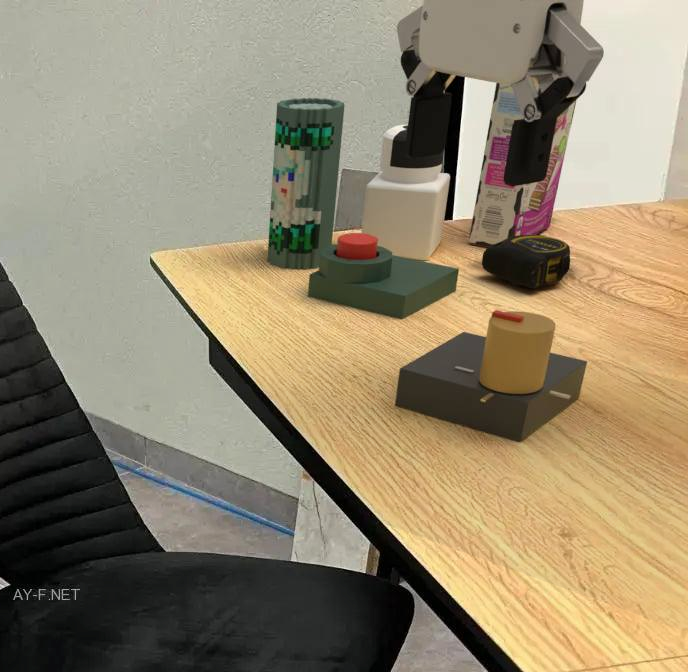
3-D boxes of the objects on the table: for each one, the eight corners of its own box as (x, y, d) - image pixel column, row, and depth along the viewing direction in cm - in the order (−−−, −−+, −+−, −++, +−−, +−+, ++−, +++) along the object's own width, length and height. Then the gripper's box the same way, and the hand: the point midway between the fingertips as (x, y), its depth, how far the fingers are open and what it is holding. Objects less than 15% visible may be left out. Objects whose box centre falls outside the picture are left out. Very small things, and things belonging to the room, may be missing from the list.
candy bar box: (512, 253, 117) (544, 80, 108) (466, 245, 120) (493, 76, 111) (553, 228, 124) (586, 64, 115) (508, 221, 127) (537, 60, 118)
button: (383, 256, 106) (385, 237, 105) (362, 265, 103) (364, 246, 102) (349, 249, 108) (351, 230, 107) (328, 258, 106) (330, 239, 105)
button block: (455, 291, 108) (462, 249, 106) (400, 320, 102) (406, 276, 99) (361, 271, 114) (365, 230, 111) (303, 297, 107) (307, 254, 105)
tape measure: (474, 278, 111) (481, 239, 109) (527, 267, 113) (534, 229, 111) (527, 298, 106) (534, 258, 104) (581, 285, 108) (589, 246, 106)
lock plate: (602, 404, 86) (612, 364, 84) (533, 458, 78) (542, 415, 77) (457, 367, 92) (463, 329, 91) (382, 413, 85) (387, 373, 83)
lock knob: (553, 380, 82) (567, 315, 79) (526, 399, 79) (539, 333, 77) (495, 366, 84) (507, 302, 82) (467, 384, 82) (478, 319, 79)
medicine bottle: (441, 243, 121) (458, 122, 114) (428, 262, 116) (445, 136, 109) (374, 236, 124) (387, 118, 117) (358, 254, 118) (371, 132, 112)
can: (256, 260, 117) (265, 103, 109) (297, 248, 120) (309, 95, 112) (299, 273, 113) (312, 112, 105) (341, 261, 116) (356, 103, 108)
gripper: (680, -129, 64) (611, 187, 73) (464, -129, 77) (429, 140, 86) (582, -124, 61) (523, 203, 70) (375, -125, 74) (349, 152, 83)
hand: (471, 168), depth 78 cm, fingers open, 9 cm apart
